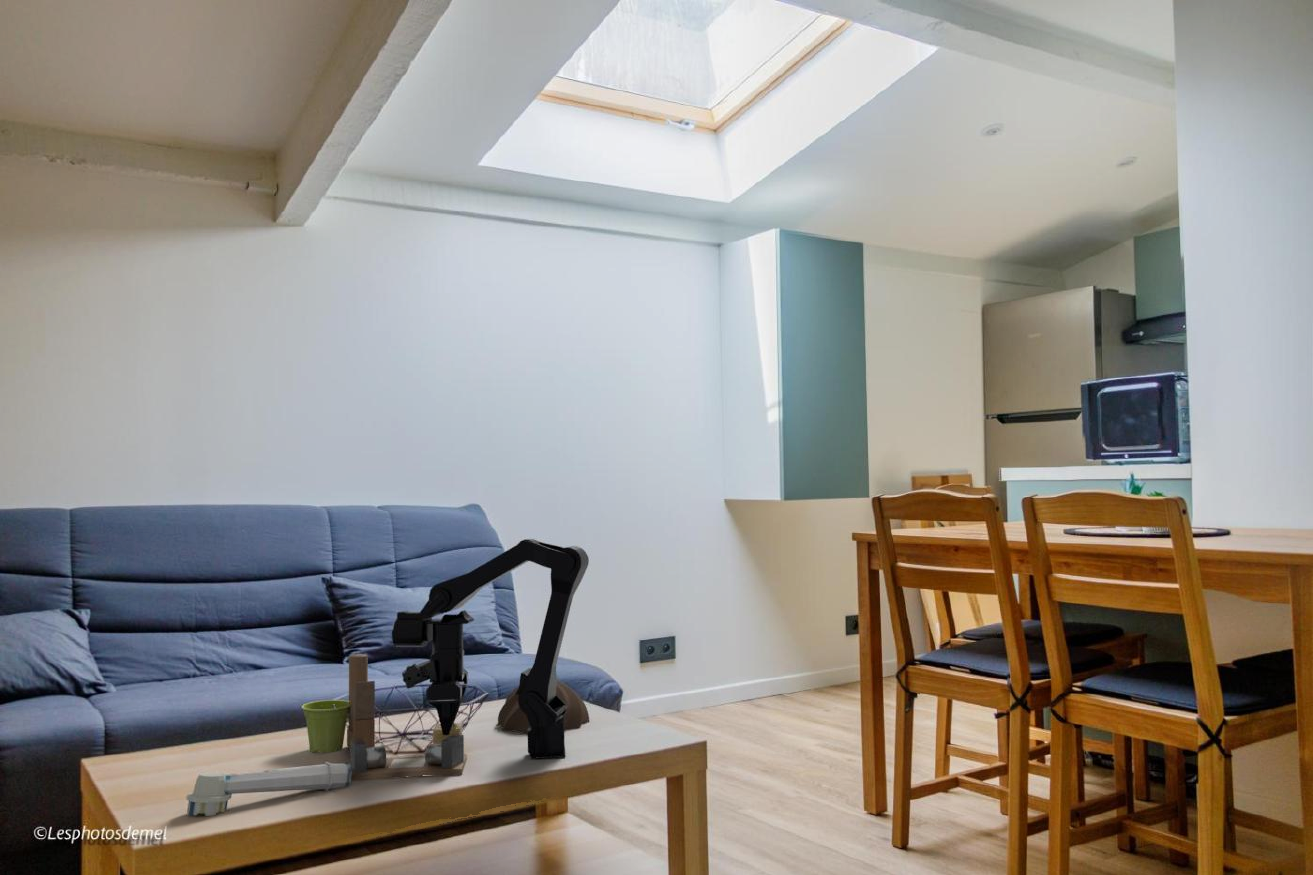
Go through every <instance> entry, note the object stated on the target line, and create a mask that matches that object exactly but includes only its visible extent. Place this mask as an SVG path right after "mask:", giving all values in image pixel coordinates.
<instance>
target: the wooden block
mask: <svg viewBox="0 0 1313 875" xmlns="http://www.w3.org/2000/svg"><path fill="white" fill-rule="evenodd" d="M368 660H369V658H368V654H365V653H356V654H351V655H349V656H348V701H349V705H350V707H349V713H348V728H347V729H346V747H347V748H348V749H349V750H350V740H354V739H362V740H363V741H364V742H365V743H366V748H369V747H376V746H375V744H376V742H375V741H376V738H375V736H376V733H375V732H376V731H375V729H376V726H375V725H376V720H375V716H376V715H375V714H376V712H375V711H376V703H375V702H376V700H375V699H376V698H375V697H376V694H375V693H376V688H375V687H376V681H375V680H369V679H368V678H369V677H368V675H369V673H368V672H369V671H368V669H369V667H368V664H369V663H368V662H369V661H368ZM368 680H369V681H368Z"/></svg>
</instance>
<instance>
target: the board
mask: <svg viewBox="0 0 1313 875" xmlns="http://www.w3.org/2000/svg"><path fill="white" fill-rule="evenodd" d="M467 755H468V754H467V753H465V754H464V762H463V763H461V764H460V765H458V766H457V767H455V768H453V769H442V765H428V764H426V761H425V755H423V756H422V755H420V756H403V757H401V756H399V757H398V756H397V757H386V766H385V767H379V768H372V769H366V773H359V774H354V773H353V771H352V770H351V780H350V781H354V780H355V781H361V780H376V779H377V780H378V779H379V780H381V779H395V778H394V777H403V778H407V777H406V776H423V775H443V776H455V775H454V774H462V775H463V773H462V772H464V770H465V766H466V762H467V760H468V759H467ZM423 777H424V776H423Z"/></svg>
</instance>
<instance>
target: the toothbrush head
mask: <svg viewBox="0 0 1313 875" xmlns="http://www.w3.org/2000/svg"><path fill="white" fill-rule="evenodd" d="M351 781H352V780H351V768H350V763H346V762H344V763H330V762H329V761H325V762H324V763H323V764H314V765H313V764H311V765H305V766H293V767H286V768H284V767H283V768H276V769H275V768H274V769H266V770H256V771H249V772H248V771H247V772H238V773H228V774H227V773H226V774H225V773H224V772H216V771H215V772H214V771H213V772H212V771H211V772H203V773H200V774H199V775H198V777H197V778H196V781H195V784H194V787H193V791H192V792H191V791H190V792H189V793H187V794H186V800H187V801H188V804H187V810H186V812H187V814H188V815H192V816H198V815H199V814H204V816H207V817H208V816H216V814H218V813H224V812H225V811H227V809H228V801H229V800H231V799H232V795H234V794H235V795H237V794H253V793H269V792H270V793H271V792H290V791H291V792H292V791H304V790H305V791H308V790H309V791H310V790H325V791H328V790H329V789H339V788H344V787H345V788H346V787H349V785H350V783H351Z"/></svg>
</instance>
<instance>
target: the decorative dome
mask: <svg viewBox="0 0 1313 875" xmlns="http://www.w3.org/2000/svg"><path fill="white" fill-rule="evenodd" d="M518 688H519V685H518V686H517V687H516V688H514V689H513V690H512V691H511V692H510V693H509V694H508V696H507V697H506V699H505V702H504V704H503V706H502V707H501V709H499V710H500V711H499V712H498V716H497V725H499V726H501V727H502V728H501V730H502V731H511V732H516V733H520V734H525V735H526V734H528V728H531V726H530V724H529V722H528V719H527V716H526V714H525V713H524V712H523V711H522V710H521V709H520V707H519V706H518V696H519V694H518V695H516V694H515V693H516V692H517V690H518ZM556 694H557V696H558V697H559V698H560V699H561V700H562V701H563V702H564V703H565V704H566V705H567V706H568V707H567V710H566V713H565V716H563V717H562V718H564V731H569V730H577V729H581V726H582V725H585V724H588V723H590V715H589V711H588V708H587V706H586V704H585V702H584V700H583V699H582V698H581V697H580V695H579V694H578V693H577V692H576V691H574V690H573V688H571V686H569V685H567V684H566V683H564V682H562V681H560V680H558V679H557V686H556Z"/></svg>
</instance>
